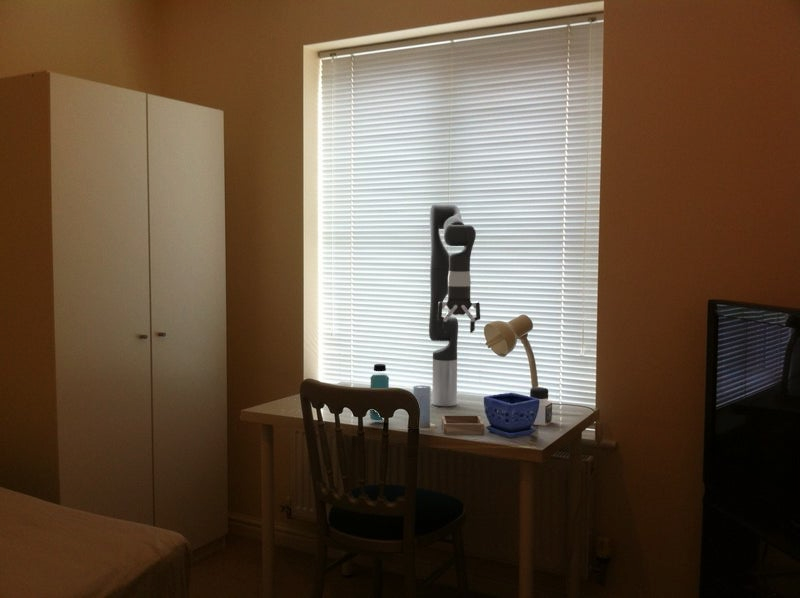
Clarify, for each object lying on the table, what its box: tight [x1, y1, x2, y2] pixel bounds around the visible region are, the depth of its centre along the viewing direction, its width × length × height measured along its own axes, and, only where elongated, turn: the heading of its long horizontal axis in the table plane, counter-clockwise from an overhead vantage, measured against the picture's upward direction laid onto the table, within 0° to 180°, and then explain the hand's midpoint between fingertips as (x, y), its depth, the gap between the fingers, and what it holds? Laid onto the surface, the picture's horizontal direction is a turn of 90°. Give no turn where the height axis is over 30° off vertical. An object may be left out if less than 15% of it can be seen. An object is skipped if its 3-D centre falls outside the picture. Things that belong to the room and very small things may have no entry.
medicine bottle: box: [529, 386, 553, 427], centre depth 246 cm, size 7×7×12 cm
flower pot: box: [483, 392, 540, 439], centre depth 230 cm, size 13×13×12 cm
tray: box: [441, 414, 485, 435], centre depth 235 cm, size 13×13×4 cm
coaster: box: [406, 422, 438, 431], centre depth 238 cm, size 10×10×1 cm
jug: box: [412, 384, 432, 428], centre depth 237 cm, size 6×8×13 cm
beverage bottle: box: [369, 363, 390, 422], centre depth 244 cm, size 6×7×20 cm
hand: (458, 332), depth 246 cm, fingers open, 8 cm apart
